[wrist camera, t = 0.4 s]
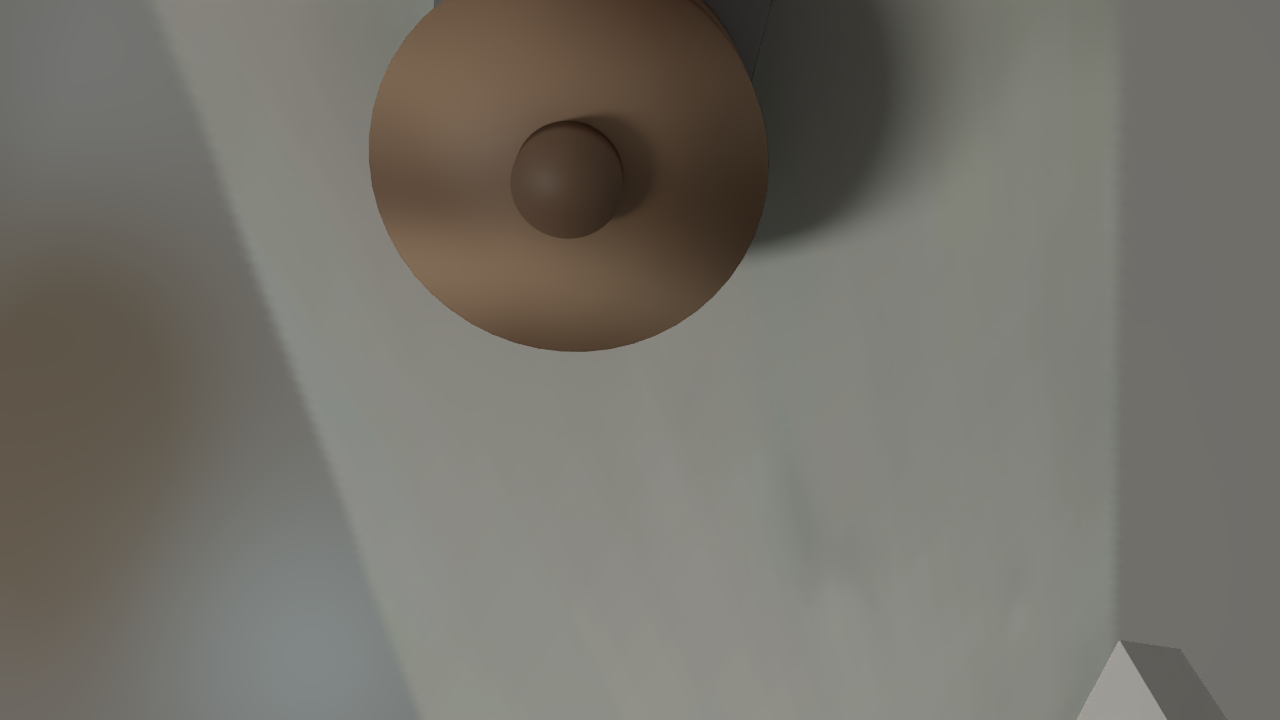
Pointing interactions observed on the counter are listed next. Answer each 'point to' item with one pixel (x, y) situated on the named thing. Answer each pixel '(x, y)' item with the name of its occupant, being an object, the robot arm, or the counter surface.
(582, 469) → the counter surface
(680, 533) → the counter surface
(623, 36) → the lid
